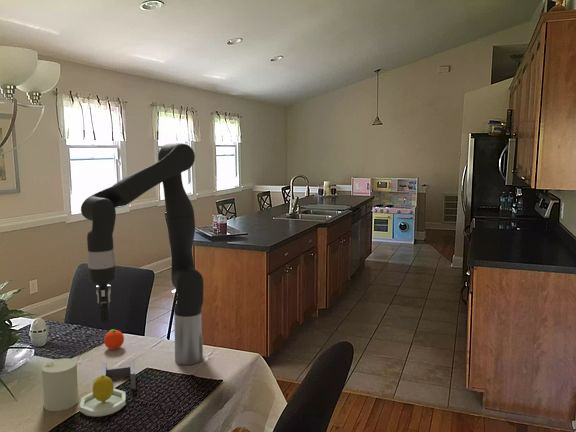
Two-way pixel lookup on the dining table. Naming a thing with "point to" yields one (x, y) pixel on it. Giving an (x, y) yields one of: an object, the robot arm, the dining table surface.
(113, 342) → the clementine
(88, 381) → the dining table surface
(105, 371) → the clip
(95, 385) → the lemon
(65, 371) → the can
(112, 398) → the dish
